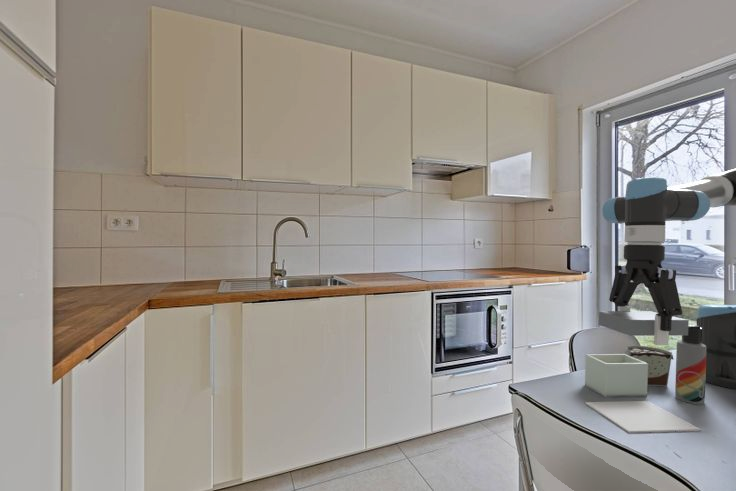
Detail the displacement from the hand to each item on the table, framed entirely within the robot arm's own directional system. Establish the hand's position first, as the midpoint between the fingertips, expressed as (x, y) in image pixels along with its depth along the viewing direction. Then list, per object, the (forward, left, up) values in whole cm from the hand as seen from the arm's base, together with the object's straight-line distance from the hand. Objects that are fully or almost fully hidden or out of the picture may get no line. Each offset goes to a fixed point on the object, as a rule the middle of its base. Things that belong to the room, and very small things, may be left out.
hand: (640, 337), depth 80 cm
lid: (0, 0, +2) cm, 2 cm away
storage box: (-6, -14, -19) cm, 24 cm away
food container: (-20, -20, -19) cm, 34 cm away
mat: (0, 0, -19) cm, 19 cm away
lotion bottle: (-22, -8, -19) cm, 30 cm away
